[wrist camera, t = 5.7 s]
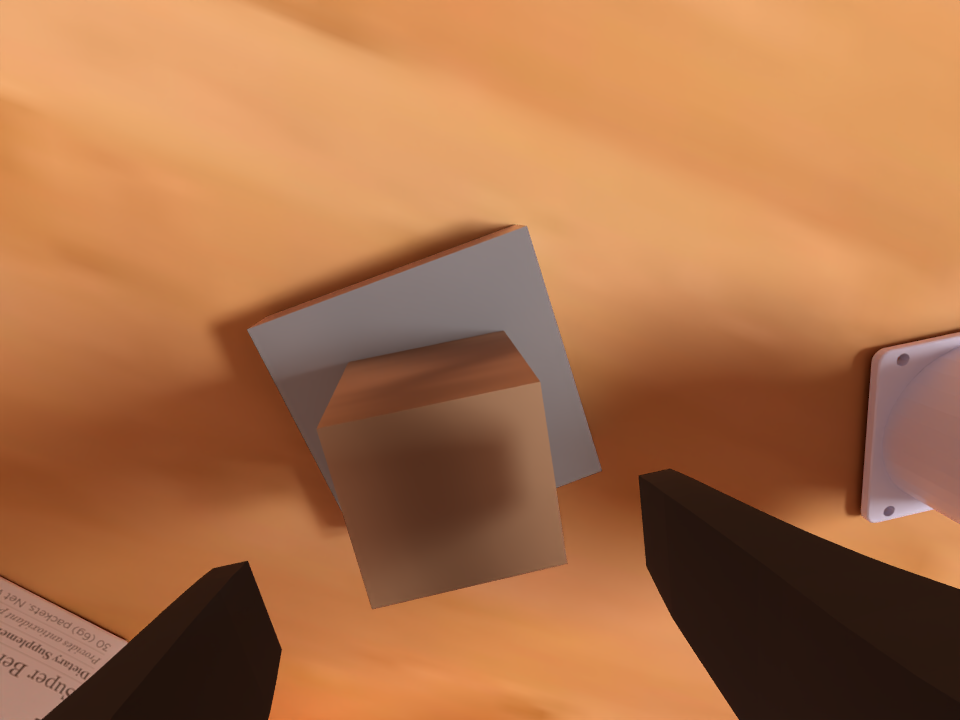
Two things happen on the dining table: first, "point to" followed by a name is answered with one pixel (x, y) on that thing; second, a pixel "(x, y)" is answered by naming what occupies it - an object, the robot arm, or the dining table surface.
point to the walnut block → (443, 468)
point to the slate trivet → (431, 335)
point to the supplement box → (45, 653)
